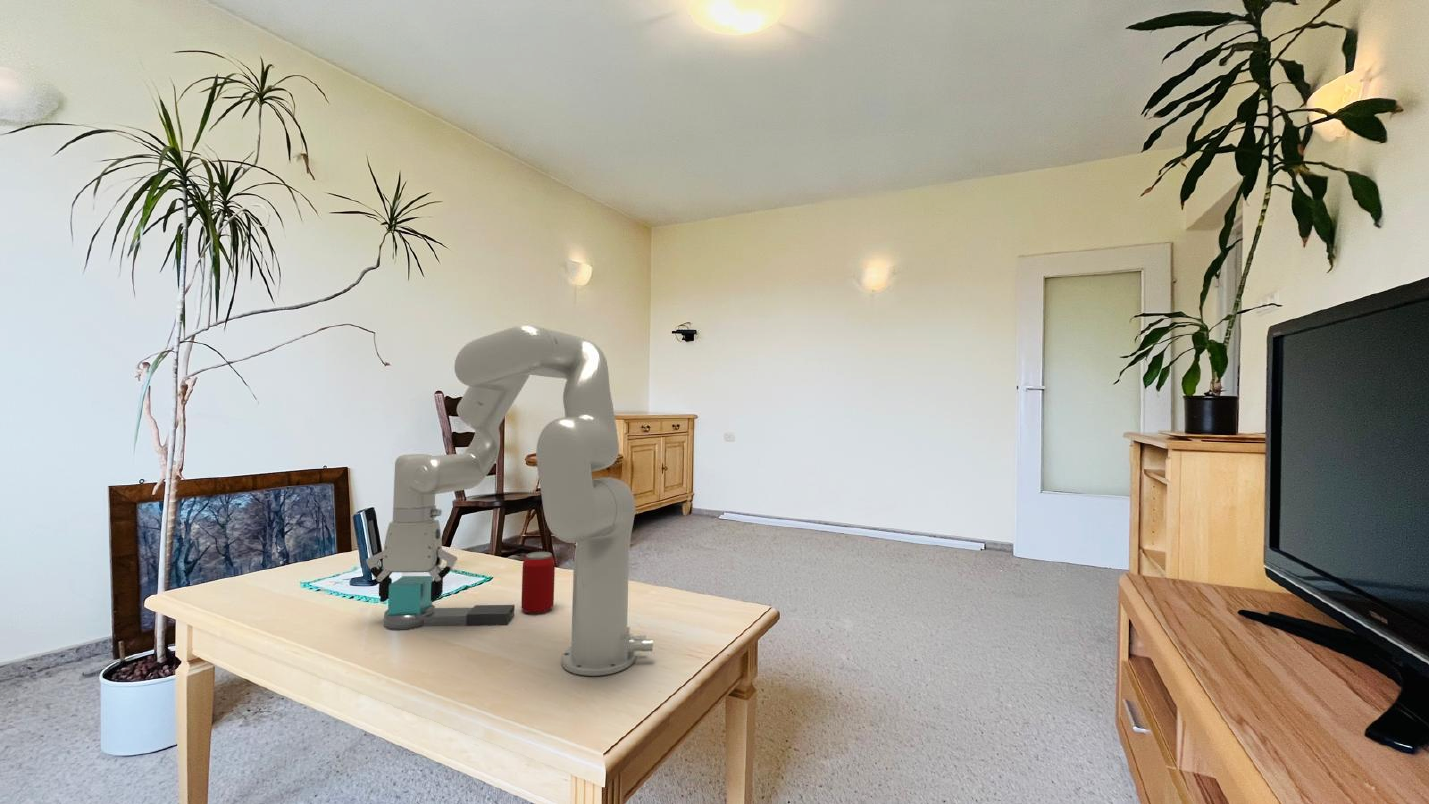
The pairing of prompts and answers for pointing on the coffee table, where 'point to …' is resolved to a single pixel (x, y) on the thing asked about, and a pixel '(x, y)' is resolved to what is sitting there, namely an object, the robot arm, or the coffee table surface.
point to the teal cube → (409, 595)
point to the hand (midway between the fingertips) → (410, 599)
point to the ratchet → (452, 617)
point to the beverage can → (538, 582)
